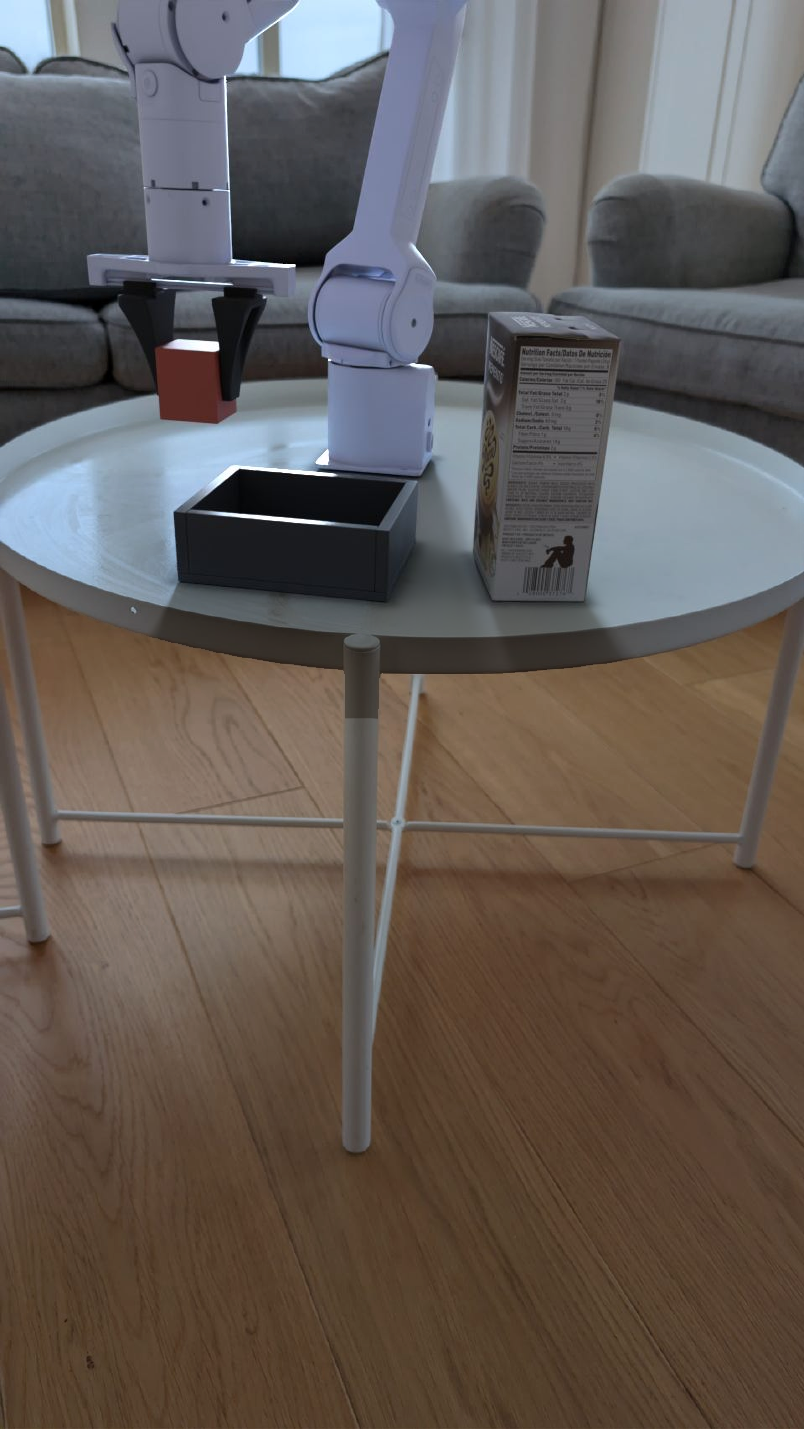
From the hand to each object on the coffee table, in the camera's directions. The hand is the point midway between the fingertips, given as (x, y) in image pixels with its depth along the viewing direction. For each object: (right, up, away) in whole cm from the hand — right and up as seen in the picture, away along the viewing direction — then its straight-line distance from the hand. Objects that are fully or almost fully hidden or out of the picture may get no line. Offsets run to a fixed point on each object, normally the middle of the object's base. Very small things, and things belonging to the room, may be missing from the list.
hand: (198, 396), depth 76 cm
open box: (+8, -13, -6) cm, 17 cm away
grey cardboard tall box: (+23, -14, -7) cm, 28 cm away
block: (0, -1, +1) cm, 1 cm away
